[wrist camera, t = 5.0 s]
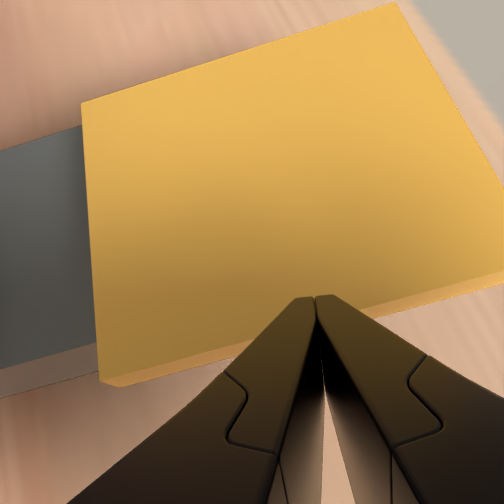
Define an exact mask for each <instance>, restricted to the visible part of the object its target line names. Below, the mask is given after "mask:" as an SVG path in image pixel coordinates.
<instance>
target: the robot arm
mask: <svg viewBox="0 0 504 504" xmlns="http://www.w3.org/2000/svg"><path fill="white" fill-rule="evenodd" d="M315 308H316V309H315ZM319 343H320V344H319ZM320 352H321V353H320ZM321 360H322V362H321ZM322 369H323V371H322ZM323 378H324V380H323ZM324 386H325V391H324ZM325 392H326V397H327V401H328V405H329V409H330V412H331V416H332V419H333V423H334V427H335V430H336V434H337V438H338V441H339V445H340V449H341V452H342V456H343V460H344V463H345V467H346V471H347V474H348V478H349V482H350V485H351V489H352V493H353V496H354V500H355V504H504V398H503V397H501V396H499V395H497V394H495V393H493V392H491V391H490V390H488V389H486V388H484V387H482V386H480V385H478V384H477V383H475V382H473V381H471V380H469V379H467V378H466V377H464V376H462V375H461V374H459V373H457V372H456V371H454V370H452V369H451V368H449V367H447V366H446V365H444V364H442V363H441V362H439V361H438V360H436V359H435V358H433V357H432V356H428V355H427V354H426V353H424V352H423V351H421V350H419V349H418V348H416V347H415V346H413V345H412V344H410V343H409V342H407V341H405V340H404V339H402V338H401V337H399V336H398V335H396V334H395V333H393V332H391V331H390V330H388V329H387V328H385V327H384V326H382V325H381V324H379V323H377V322H376V321H374V320H373V319H371V318H370V317H368V316H367V315H365V314H364V313H362V312H360V311H359V310H357V309H356V308H354V307H353V306H351V305H350V304H348V303H346V302H345V301H343V300H342V299H340V298H339V297H337V296H336V295H333V294H329V295H319V296H316V297H315V301H314V298H313V297H312V296H309V297H299V298H295V299H293V300H292V301H291V302H290V303H289V305H288V306H287V307H286V308H285V309H284V310H283V311H282V312H281V313H280V314H279V315H278V316H277V317H276V318H275V319H274V320H273V321H272V322H271V323H270V324H269V325H268V326H267V327H266V328H265V329H264V330H263V331H262V332H261V333H260V334H259V335H258V336H257V337H256V338H255V339H254V340H253V341H252V342H251V343H250V344H249V345H248V346H247V347H246V348H245V349H244V351H243V352H242V353H241V354H240V355H239V356H238V357H237V358H236V359H235V360H234V361H233V362H232V363H231V364H230V365H229V366H228V367H227V368H226V369H225V370H224V371H223V372H222V373H220V374H219V375H218V376H217V377H216V378H215V379H214V380H213V381H212V382H211V383H210V384H209V385H208V386H207V387H206V388H205V389H204V390H203V391H202V392H201V393H200V394H199V395H198V396H197V397H196V398H195V399H193V400H192V401H191V402H190V403H189V404H188V405H186V406H185V407H184V408H183V409H182V410H181V411H179V412H178V413H177V414H176V415H175V416H174V417H172V418H171V419H170V420H169V421H167V422H166V423H165V424H164V425H163V426H161V427H160V428H159V429H158V430H156V431H155V432H154V433H153V434H151V435H150V436H149V437H148V438H147V439H145V440H144V441H143V442H142V443H140V444H139V445H138V446H137V447H136V448H134V449H133V450H132V451H131V452H129V453H128V454H127V455H126V456H124V457H123V458H122V459H121V460H120V461H118V462H117V463H116V464H115V465H113V466H112V467H111V468H110V469H109V470H107V471H106V472H105V473H104V474H102V475H101V476H100V477H99V478H98V479H96V480H95V481H94V482H93V483H91V484H90V485H89V486H88V487H86V488H85V489H84V490H83V491H82V492H80V493H79V494H78V495H77V496H75V497H74V498H73V499H72V500H71V501H69V502H68V503H67V504H321V490H322V463H323V435H324V408H325Z"/></svg>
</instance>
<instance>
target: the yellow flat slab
mask: <svg viewBox="0 0 504 504" xmlns="http://www.w3.org/2000/svg"><path fill="white" fill-rule="evenodd" d="M81 114H82V129H83V144H84V159H85V174H86V189H87V204H88V219H89V234H90V249H91V264H92V279H93V294H94V310H95V325H96V340H97V355H98V370H99V381H100V382H103V383H106V384H109V385H113V386H116V387H119V388H121V387H125V386H129V385H132V384H136V383H140V382H143V381H147V380H151V379H154V378H158V377H162V376H165V375H169V374H173V373H176V372H180V371H184V370H187V369H191V368H195V367H198V366H202V365H206V364H209V363H213V362H217V361H220V360H224V359H228V358H231V357H235V356H239V355H240V354H241V353H242V352H243V351H244V349H245V348H246V347H247V346H248V345H249V344H250V343H251V342H252V341H253V340H254V339H255V338H256V337H257V336H258V335H259V334H260V333H261V332H262V331H263V330H264V329H265V328H266V327H267V326H268V325H269V324H270V323H271V322H272V321H273V320H274V319H275V318H276V317H277V316H278V315H279V314H280V313H281V312H282V311H283V310H284V309H285V308H286V307H287V306H288V305H289V303H290V302H291V301H292V300H293V299H295V298H299V297H309V296H312V297H313V298H314V301H315V297H316V296H319V295H329V294H333V295H336V296H337V297H339V298H340V299H342V300H343V301H345V302H346V303H348V304H350V305H351V306H353V307H354V308H356V309H357V310H359V311H360V312H362V313H364V314H365V315H367V316H368V317H370V318H371V319H374V318H378V317H382V316H385V315H389V314H393V313H396V312H400V311H404V310H407V309H411V308H415V307H418V306H422V305H426V304H429V303H433V302H437V301H440V300H444V299H448V298H451V297H455V296H459V295H462V294H466V293H470V292H473V291H477V290H481V289H484V288H488V287H492V286H495V285H499V284H503V283H504V187H503V186H502V184H501V182H500V180H499V179H498V177H497V175H496V174H495V172H494V170H493V168H492V167H491V165H490V163H489V162H488V160H487V158H486V156H485V155H484V153H483V151H482V150H481V148H480V146H479V144H478V143H477V141H476V139H475V138H474V136H473V134H472V132H471V131H470V129H469V127H468V126H467V124H466V122H465V120H464V119H463V117H462V115H461V114H460V112H459V110H458V108H457V107H456V105H455V103H454V102H453V100H452V98H451V96H450V95H449V93H448V91H447V90H446V88H445V86H444V84H443V83H442V81H441V79H440V78H439V76H438V74H437V72H436V71H435V69H434V67H433V66H432V64H431V62H430V60H429V59H428V57H427V55H426V54H425V52H424V50H423V48H422V47H421V45H420V43H419V42H418V40H417V38H416V36H415V35H414V33H413V31H412V30H411V28H410V26H409V24H408V23H407V21H406V19H405V18H404V16H403V14H402V12H401V11H400V9H399V7H398V6H397V4H396V2H393V3H390V4H387V5H384V6H381V7H377V8H374V9H371V10H368V11H365V12H362V13H359V14H356V15H353V16H350V17H347V18H343V19H340V20H337V21H334V22H331V23H328V24H325V25H322V26H319V27H316V28H312V29H309V30H306V31H303V32H300V33H297V34H294V35H291V36H288V37H285V38H281V39H278V40H275V41H272V42H269V43H266V44H263V45H260V46H257V47H254V48H250V49H247V50H244V51H241V52H238V53H235V54H232V55H229V56H226V57H223V58H220V59H216V60H213V61H210V62H207V63H204V64H201V65H198V66H195V67H192V68H189V69H185V70H182V71H179V72H176V73H173V74H170V75H167V76H164V77H161V78H158V79H154V80H151V81H148V82H145V83H142V84H139V85H136V86H133V87H130V88H127V89H124V90H120V91H117V92H114V93H111V94H108V95H105V96H102V97H99V98H96V99H93V100H89V101H86V102H83V103H81ZM315 309H316V308H315Z"/></svg>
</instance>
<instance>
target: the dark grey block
mask: <svg viewBox="0 0 504 504" xmlns="http://www.w3.org/2000/svg"><path fill="white" fill-rule="evenodd" d="M97 371H99V370H98V355H97V340H96V325H95V310H94V294H93V279H92V264H91V249H90V234H89V219H88V204H87V189H86V174H85V159H84V144H83V129H82V125H80V126H77V127H74V128H71V129H68V130H65V131H61V132H58V133H55V134H52V135H49V136H46V137H43V138H40V139H36V140H33V141H30V142H27V143H24V144H21V145H18V146H14V147H11V148H8V149H5V150H2V151H0V398H3V397H6V396H10V395H13V394H17V393H21V392H24V391H28V390H32V389H35V388H39V387H42V386H46V385H50V384H53V383H57V382H60V381H64V380H68V379H71V378H75V377H79V376H82V375H86V374H89V373H93V372H97Z"/></svg>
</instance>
